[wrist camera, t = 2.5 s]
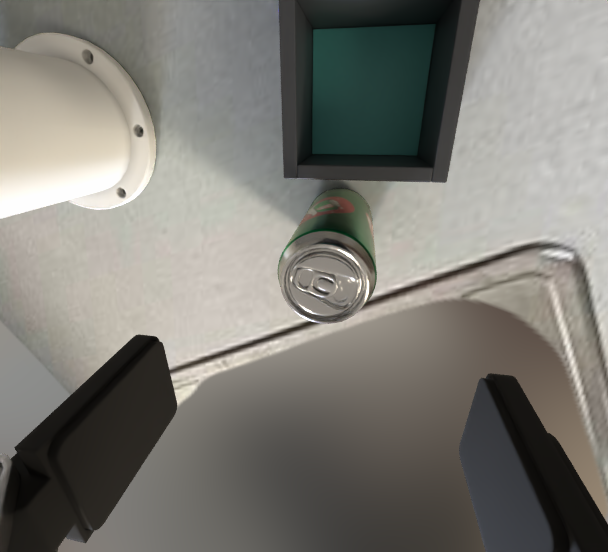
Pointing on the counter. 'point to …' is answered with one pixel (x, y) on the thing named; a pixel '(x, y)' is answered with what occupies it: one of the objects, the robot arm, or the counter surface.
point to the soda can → (330, 259)
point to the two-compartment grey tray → (372, 87)
